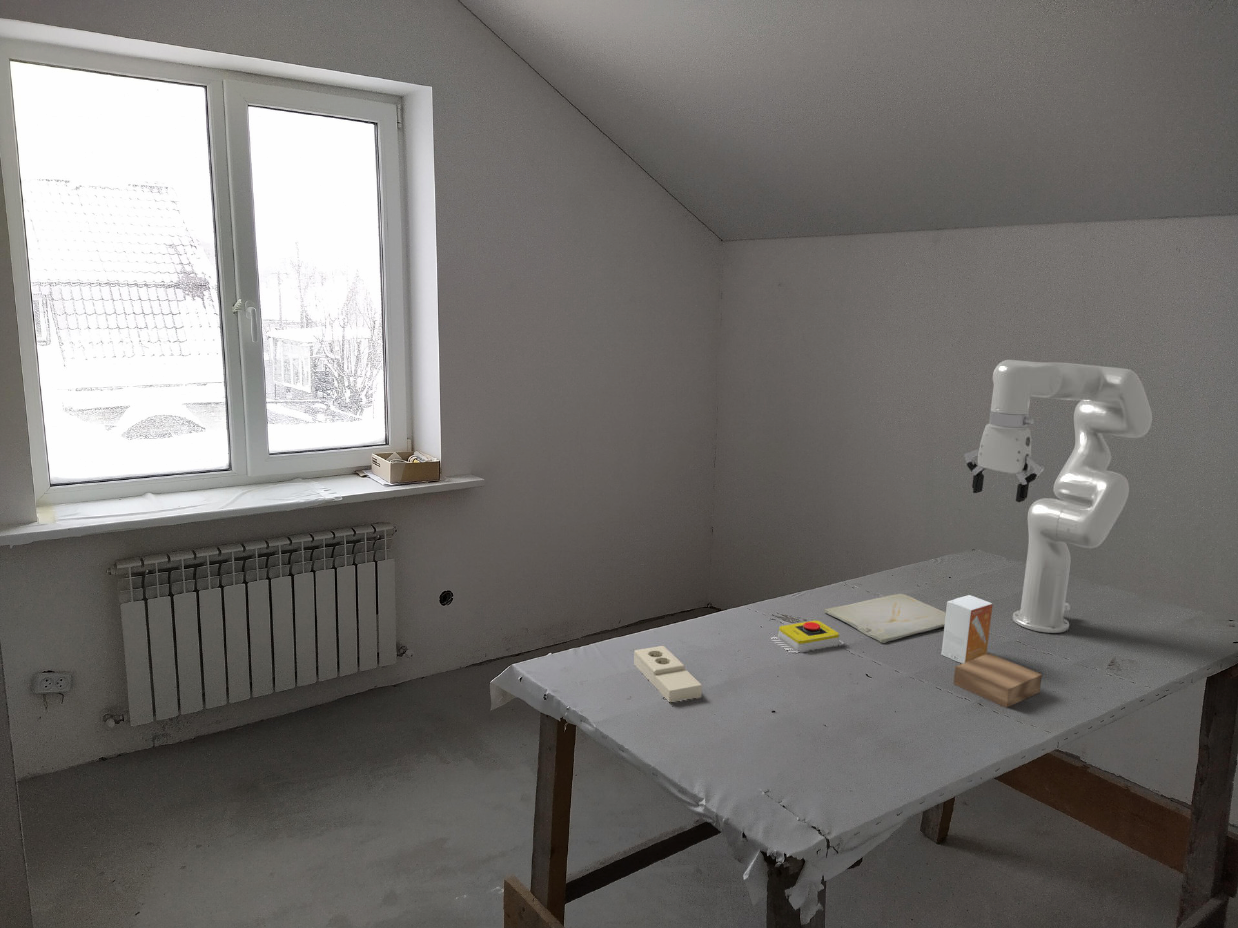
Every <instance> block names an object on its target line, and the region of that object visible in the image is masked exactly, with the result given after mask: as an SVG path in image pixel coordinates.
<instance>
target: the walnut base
mask: <svg viewBox="0 0 1238 928" xmlns="http://www.w3.org/2000/svg"><path fill="white" fill-rule="evenodd" d="M1042 677H1043V674H1042V673H1039V672H1038V671H1034V670H1032V669H1031V668H1030V669H1029V668H1027V667H1024V666H1022V665H1020V664H1017V663H1014V662H1012V661H1010V660H1008V659H1005V658H1002V657H1000V656H997V655H994V654H992V653H989V652H987V654H985V655H983V656H980V657H978V658H975V659H973V660H970V661H968V662H965V663H963V664H962V663H959V664H958V665H956V666H955V667H954V675H953V685H954V686H957V687H959V688H961V689H964V690H965V691H968V692H970V693H972V694H975V695H976V696H979V697H982V698H984V699H986V700H988V701H990V702H992V703H994V704H997V705H999V706H1002V707H1004V708H1006V709H1007V708H1009V707H1012V706H1013V705H1015V704H1017V703H1019V702H1022V701H1024V700H1026V699H1029V698H1030V697H1032V696H1034V695H1037V694H1040V692H1041V687H1042V686H1041V685H1042V679H1043V678H1042Z"/></svg>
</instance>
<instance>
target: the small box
mask: <svg viewBox="0 0 1238 928" xmlns="http://www.w3.org/2000/svg"><path fill="white" fill-rule="evenodd" d="M993 605H994V604H993V603H992V602H989V601H987V600H984V599H982V598H979V597H976V596H974V595H970V594H968V595H965V596H960V597H957V598H953V599H952V600H947V601H946V609H945V613H946V617H945V626H943V628H944V629H943V637H942V646H941V656H943V657H945V658H948V659H950V660H952V661H955V662H957V663H959V664H963V663H965V662H968V661H970V660H973V659H975V658H978V657H980V656H983V655H985V654H988V645H989V636H990V635H989V634H990V627H991V620H992V612H993Z"/></svg>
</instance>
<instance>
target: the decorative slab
mask: <svg viewBox="0 0 1238 928" xmlns="http://www.w3.org/2000/svg"><path fill="white" fill-rule="evenodd" d="M823 612H824V613H825V614H828V615H829V616H832V617H833V618H836V619H838V620H839V621H842V622H844V623H846V624H848V625H849V626H851V627H853V628H855V629H856V630H857V631H858V632H860V633H862V634H863V635H866V636H867V637H869V638H872V639H874V640H876V641H878V642H879V643H881V644H886V643H888V642H892V641H895V640H899V639H902V638H905V637H908V636H911V635H915V634H919V633H920V634H921V633H925V632H929V631H933V630H936V629H940V628H942V627H943V628H944V626H945V617H946V611H943V610H941V609H938V608H936V607H935V606H932V605H930V604H927V603H924V602H923V601H921V600H918V599H916V598H914V597H912V596H909V595H907V594H904V593H895V594H890V595H886V596H882V597H877V598H872V599H867V600H863V601H857V602H853V603H851V604H844V605H838V606H834V607H830V608H829V607H828V608H825V609H823Z"/></svg>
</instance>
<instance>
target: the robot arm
mask: <svg viewBox="0 0 1238 928" xmlns="http://www.w3.org/2000/svg"><path fill="white" fill-rule="evenodd" d="M992 382H993V388H992V389H993V390H992V396H991V405H990V412H989V419H988V420H989V422H988V423H987V424H985V428H984V429H983V433H982V436H981V439H980V443H979V448H977V449H974V450H972V451H969V452H966V453H964V455H963V456H964V459H965V462H966V466H967V468H968V469H969V471H970V472H971V475H972V476H973V477H972V486H971V487H972V493H973V494H978V493H981V492H983V487H984V480H985V475H984V474H983V473H984V472H985V471H986V470H988V471H993V472H998V473H1004V474H1010V475H1015V476H1016V477H1017V479H1018V481H1019V482H1020V483H1018V484H1017V489H1016V495H1015V502H1017V503H1021V502H1024V501H1025V500H1026V499H1027V498H1028V495H1029V494H1028V493H1029V488H1030V487H1029V486H1030V484H1031V483H1032V482H1034V481H1035V480H1037V479H1038V478H1039V476H1040V475H1041V474H1042V472H1043V471H1044V470H1045V466H1044V465H1043V464H1042V463H1040V462H1039V461H1037V460H1036V459H1034V458H1033V457H1032V434H1031V433H1032V432H1031V429H1030V428H1028V426H1029V425H1034V422H1035V419H1034V418H1032V417H1030V413H1029V410H1030V403H1031V402H1030V401H1031V397H1032V398H1033V397H1034V398H1047V399H1055V400H1061V401H1079V402H1078V403H1077V404H1076V406H1075V409H1074V411H1073V412H1074V413H1073V425H1074V435H1075V436H1074V437H1075V439H1074V440H1075V444H1074V447H1073V450H1072V451H1071V454H1070V455H1069V457H1068V459H1067V461H1066V462H1065V463H1064V465H1063V467H1062V469H1061V470H1060V472H1059V473H1058V475H1057V478H1056V479H1055V482H1054V484H1053V493H1054V495H1055V496H1056V498H1058V499H1056V498H1051V497H1048V498H1047V497H1045V498H1043V497H1042V498H1040V499H1037V500H1035V501H1034V502H1032V504H1031V505H1030V506H1029V509H1028V511H1027V528H1028V544H1027V556H1026V562H1025V563H1026V564H1025V571H1024V578H1023V579H1024V581H1023V587H1022V595H1021V596H1022V597H1021V603H1020V610H1015V612H1013V614H1012V620H1013V622H1015V623H1016V624H1017V625H1019V626H1021V627H1023V628H1025V629H1027V630H1030V631H1034V632H1040V633H1046V634H1050V633H1051V634H1060V633H1065V632H1066V631H1068V630H1069V628H1070V623H1069V620H1067V619H1066V618H1065V617H1064V614H1065V612H1067V611H1069V610H1070V609H1071V605H1070V604H1069V603H1068V602H1066V598H1067V590H1068V584H1069V576H1070V569H1071V560H1072V557H1071V553H1070V550H1069V547H1068V544H1070V545H1072V546H1077V547H1081V548H1086V549H1095V548H1097V547H1099V546H1101V544H1102V543H1103V542H1104V541H1105V540H1106V538H1107V537H1108V535H1109V534H1110V531H1111V530H1112V528H1113V526H1114V525H1115V523H1116V521H1117V519H1118V518H1119V516H1120V515H1121V513H1122V511H1123V510H1124V507H1125V505H1126V503H1127V501H1128V497H1129V493H1130V485H1129V481H1128V479H1127V478H1126V477H1125V476H1124V475H1123V474H1121V473H1118V472H1115V471H1111V470H1107V469H1108V467H1109V465H1110V463H1111V461H1112V454H1111V451H1110V448H1109V446H1108V444H1107V442H1106V440H1105V439H1104V436H1103V435H1109V436H1110V435H1111V436H1115V437H1122V438H1129V439H1137V438H1141V437H1144V436H1145V435H1147V434H1148V432H1149V431H1150V429H1151V427H1152V423H1153V422H1152V421H1153V415H1152V414H1153V413H1152V408H1151V406H1150V402H1149V400H1148V396H1147V394H1146V390H1145V387H1144V385H1143V382H1142V381H1141V379H1140V377H1139V376H1138V375H1137V373H1136V372H1135V371H1134V370H1132V369H1129V368H1122V367H1113V366H1112V367H1111V366H1103V365H1093V364H1082V363H1071V362H1056V361H1055V362H1052V361H1051V362H1048V361H1047V362H1043V361H1040V362H1039V361H1030V360H1019V359H1018V360H1017V359H1016V360H1015V359H1005V360H1002V361H1001V362H999V363H998V364H997V365H996V367H995V368H994V370H993V373H992ZM974 457H977V463H976V462H975V460H974ZM1030 468H1033V471H1032V473H1030V474H1029V473H1028V472H1029V471H1030Z"/></svg>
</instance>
